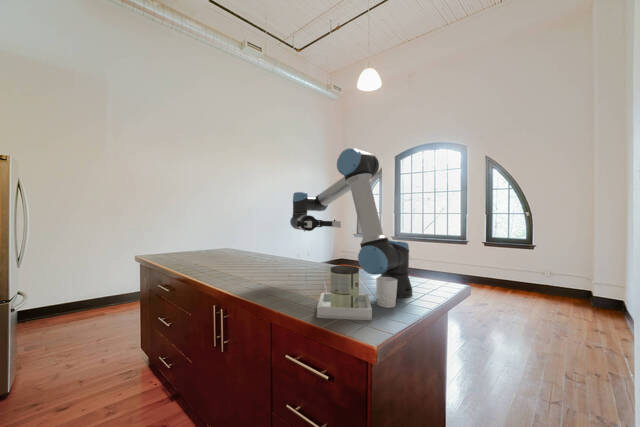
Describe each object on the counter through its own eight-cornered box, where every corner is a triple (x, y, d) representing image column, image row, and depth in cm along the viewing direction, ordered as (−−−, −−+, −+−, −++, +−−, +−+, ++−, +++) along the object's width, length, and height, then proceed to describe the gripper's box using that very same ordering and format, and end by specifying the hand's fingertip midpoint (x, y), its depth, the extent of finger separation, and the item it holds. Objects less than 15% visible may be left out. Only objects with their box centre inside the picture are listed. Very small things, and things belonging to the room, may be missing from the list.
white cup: (397, 303, 112) (398, 277, 113) (396, 309, 105) (396, 282, 105) (377, 301, 115) (377, 276, 115) (374, 307, 108) (374, 280, 108)
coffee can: (330, 302, 109) (331, 265, 109) (358, 303, 108) (358, 265, 108) (328, 311, 99) (329, 270, 99) (359, 312, 98) (359, 271, 98)
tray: (367, 303, 112) (367, 294, 112) (371, 320, 94) (372, 309, 94) (321, 301, 113) (321, 292, 113) (316, 317, 95) (317, 307, 95)
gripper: (329, 230, 147) (350, 233, 128) (282, 230, 136) (298, 233, 117) (329, 215, 147) (351, 216, 128) (282, 215, 137) (298, 215, 117)
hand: (325, 224), depth 122 cm, fingers open, 13 cm apart
